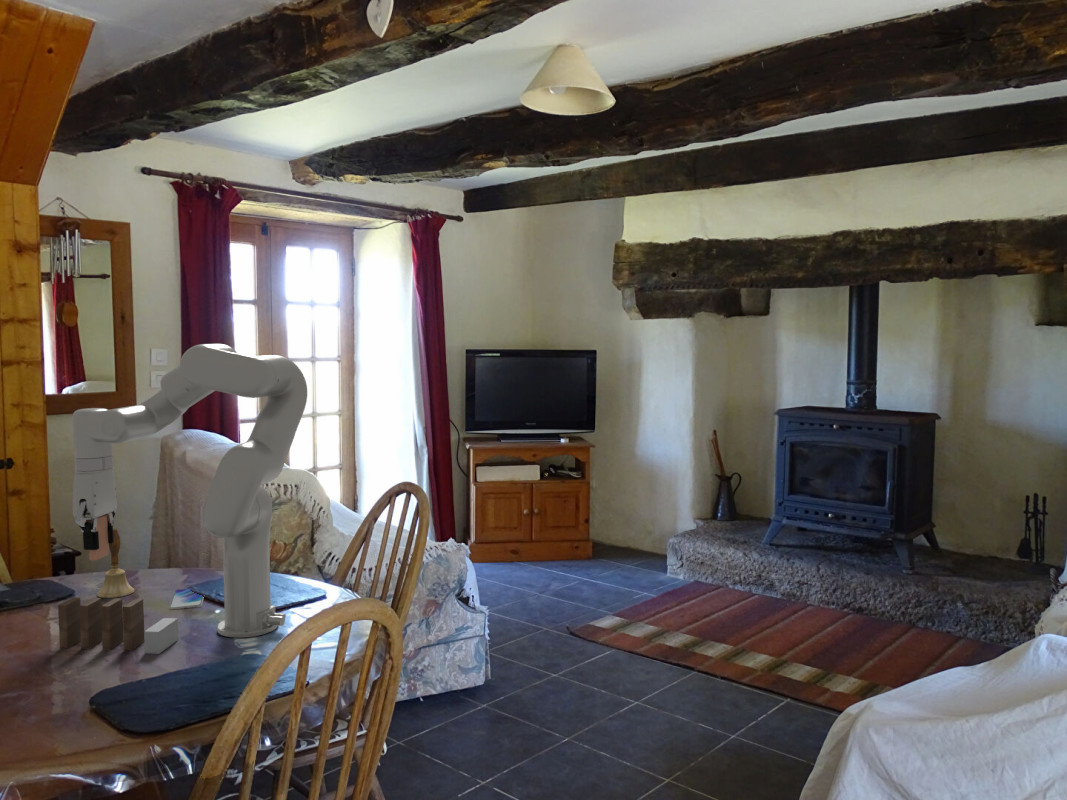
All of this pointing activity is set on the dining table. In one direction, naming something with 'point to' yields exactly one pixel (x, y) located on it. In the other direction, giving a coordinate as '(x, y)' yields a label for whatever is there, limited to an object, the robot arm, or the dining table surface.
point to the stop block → (161, 635)
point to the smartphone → (186, 599)
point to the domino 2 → (100, 539)
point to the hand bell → (115, 574)
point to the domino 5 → (133, 624)
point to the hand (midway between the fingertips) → (98, 545)
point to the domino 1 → (69, 622)
